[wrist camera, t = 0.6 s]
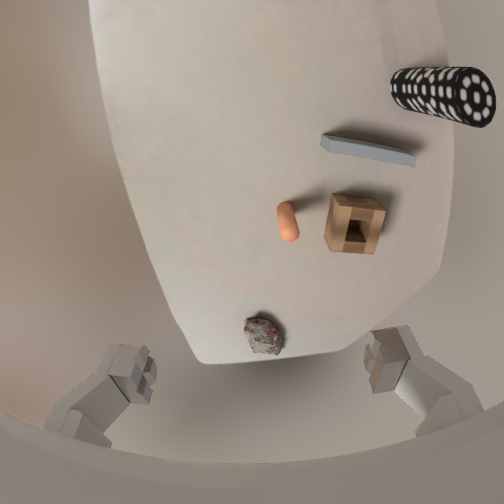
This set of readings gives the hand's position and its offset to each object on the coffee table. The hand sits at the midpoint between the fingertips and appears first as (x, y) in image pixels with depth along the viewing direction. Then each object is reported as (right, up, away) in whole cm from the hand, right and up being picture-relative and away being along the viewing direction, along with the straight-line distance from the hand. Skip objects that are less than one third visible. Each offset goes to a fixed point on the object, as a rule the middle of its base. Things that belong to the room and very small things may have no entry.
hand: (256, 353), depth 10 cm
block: (+19, +10, +45) cm, 50 cm away
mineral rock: (+3, -16, +62) cm, 64 cm away
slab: (+20, +23, +38) cm, 48 cm away
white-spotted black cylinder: (+29, +34, +31) cm, 54 cm away
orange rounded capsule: (+6, +12, +45) cm, 46 cm away
